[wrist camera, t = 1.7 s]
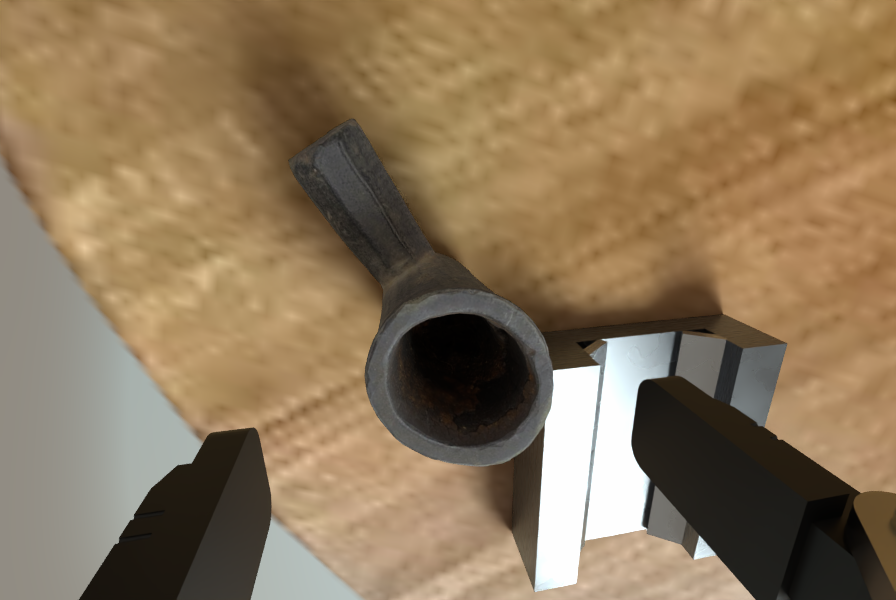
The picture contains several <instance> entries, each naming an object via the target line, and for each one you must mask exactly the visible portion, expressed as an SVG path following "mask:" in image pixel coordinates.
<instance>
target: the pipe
mask: <svg viewBox="0 0 896 600" xmlns="http://www.w3.org/2000/svg"><path fill="white" fill-rule="evenodd" d="M288 161H289V165H290V168H291V170H292V172H293V174H294V176H295V178H296V179H297V181H298V182H299V183H300V185H301V186H302V188H303V189H304V190H305V192H306V193H307V194H308V196H309V197H310V199H311V200H312V201H313V202H314V204H315V205H316V206H317V208H318V209H319V210H320V212H321V213H322V214H323V216H324V217H325V218H326V219H327V221H328V222H329V223H330V225H331V226H332V227H333V229H334V230H335V231H336V233H337V234H338V235H339V236H340V238H341V239H342V240H343V241H344V242H345V244H346V245H347V246H348V247H349V248H350V250H351V251H352V252H353V253H354V254H355V256H356V257H357V258H358V259H359V260H360V261H361V262H362V264H363V265H364V266H365V267H366V268H367V269H368V270H369V272H370V273H371V274H372V275H373V276H374V277H375V279H376V280H377V281H378V282H379V283H380V284H381V286H382V289H383V300H382V313H381V319H380V324H379V329H378V332H377V334H376V336H375V338H374V340H373V342H372V345H371V347H370V350H369V354H368V357H367V362H366V366H365V383H366V390H367V394H368V397H369V400H370V403H371V405H372V407H373V409H374V411H375V413H376V415H377V416H378V418H379V419H380V421H381V422H382V423H383V425H384V426H385V427H386V428H387V429H388V430H389V431H390V433H391V434H392V435H393V436H394V437H395V438H396V439H397V440H398V441H399V442H401V443H402V444H403V445H405V446H407V447H409V448H410V449H412V450H414V451H416V452H418V453H420V454H422V455H424V456H426V457H429V458H431V459H435V460H441V461H444V462H447V463H453V464H459V465H467V466H479V467H480V466H489V465H496V464H502V463H505V462H506V461H510V460H511V458H513V457H515V456H517V455H518V454H520V453H521V452H522V451H524V450H525V449H526V448H527V447H528V446H530V444H531V443H532V442H533V440H534V439H535V437H536V436H537V434H538V433H539V432H540V430H541V429H542V427H543V426H544V424H545V421H546V419H547V417H548V414H549V412H550V410H551V406H552V396H553V390H554V381H553V368H552V362H551V359H550V356H549V351H548V347H547V344H546V342H545V339H544V337H543V335H542V334H541V332H540V331H539V329H538V328H537V326H536V325H535V323H534V322H533V320H532V319H531V318H530V317H529V316H528V315H527V314H526V313H525V312H524V311H523V310H522V309H521V308H520V307H518V306H517V305H515V304H513V303H512V302H510V301H509V300H507V299H505V298H503V297H501V296H499V295H497V294H495V293H493V292H492V291H491V290H490V289H488V288H487V287H486V286H485V285H484V284H482V283H481V282H480V281H479V280H478V279H477V278H475V277H474V276H473V275H472V274H471V272H470V271H469V270H468V269H466V268H465V267H464V266H463V265H461V264H460V263H459V262H457V261H456V260H454V259H452V258H450V257H448V256H446V255H443V254H439V253H435V252H434V250H433V249H432V247H431V246H430V244H429V242H428V241H427V239H426V238H425V236H424V234H423V233H422V231H421V229H420V228H419V226H418V224H417V223H416V221H415V219H414V218H413V216H412V214H411V213H410V211H409V209H408V207H407V205H406V204H405V202H404V200H403V198H402V197H401V195H400V193H399V191H398V190H397V188H396V187H395V185H394V183H393V182H392V180H391V178H390V177H389V175H388V173H387V172H386V170H385V168H384V166H383V165H382V163H381V161H380V159H379V158H378V156H377V154H376V152H375V151H374V149H373V147H372V145H371V144H370V142H369V140H368V139H367V137H366V135H365V134H364V132H363V130H362V129H361V127H360V126H359V124H358V123H357V122H356V120H355V119H349V120H347V121H346V122H344V123H342V124H340V125H339V126H337V127H335V128H334V129H332V130H330V131H329V132H328V133H327V134H326V135H324V136H323V137H321V138H319V139H318V140H317V141H316V142H314V143H313V144H311V145H309V146H308V147H306V148H305V149H303V150H302V151H301V152H299V153H298V154H296V155H295V156H294V157H292V158H291V159H289V160H288Z"/></svg>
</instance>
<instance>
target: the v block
mask: <svg viewBox="0 0 896 600" xmlns="http://www.w3.org/2000/svg"><path fill="white" fill-rule="evenodd" d="M541 334H542V335H543V337H544V339H545V342H546V344H547V347H548V351H549V356H550V359H551V362H552V368H553V381H554V390H553V396H552V406H551V410H550V412H549V414H548V417H547V419H546V421H545V424H544V426H543V427H542V429H541V430H540V432H539V433H538V434H537V436H536V437H535V439H534V440H533V442H532V443H531V444H530V446H528V447H527V448H526V449H525V450H524V451H522V452H521V453H520V454H518V455H517V456H515V457H514V484H513V512H512V534H513V537H514V539H515V542H516V545H517V547H518V550H519V552H520V555H521V558H522V560H523V563H524V566H525V568H526V571H527V573H528V576H529V579H530V581H531V584H532V587H533V589H534V592H537V591H542V590H547V589H551V588H556V587H561V586H566V585H571V584H576V581H577V572H578V563H579V554H580V551H581V549H582V548H583V547H584V545H585V540H589V539H595V538H600V537H606V536H611V535H616V534H622V533H627V532H632V531H638V530H643V529H647V534H649V535H652V536H656V537H659V538H662V539H665V540H668V541H672V542H675V543H678V544H681V545H682V546H683V547H684V548H685V550H686V551H687V552H688V553H689V555H690V556H691V557H692V558H693V560H694V559H699V558H704V557H709V556H714V555H716V554H715V553H714V551H713V550H712V549H711V548H710V547H709V546H708V545H707V544H706V542H705V541H704V540H703V539H702V538H701V537H700V536H699V534H698V533H697V532H696V531H695V530H694V529H693V528H692V526H691V525H690V524H689V523H688V522H687V521H686V520H685V518H684V517H683V516H682V515H681V514H680V513H679V512H678V511H677V509H676V508H675V507H674V506H673V505H672V504H671V503H670V501H669V500H668V499H667V498H666V497H665V496H664V495H663V493H662V492H661V491H660V490H659V489H658V488H657V487H656V486H655V484H654V483H653V482H652V481H651V480H650V479H649V478H648V476H647V475H646V474H645V473H644V472H643V471H642V470H641V468H640V467H639V465H638V464H637V462H636V460H635V457H634V455H633V451H632V446H631V436H632V429H633V421H634V414H635V407H636V399H637V392H638V387H639V385H640V383H641V382H642V381H643V380H646V379H653V378H661V377H669V376H681V377H683V378H685V379H686V380H688V381H689V382H691V383H692V384H693V385H695V386H696V387H698V388H699V389H701V390H702V391H704V392H705V393H706V394H708V395H709V396H711V397H712V398H715V399H717V400H719V401H721V402H724V403H726V404H728V405H731V406H733V407H735V408H736V409H738V410H739V411H741V412H742V413H744V414H745V415H747V416H748V417H750V418H751V419H753V420H754V421H756V422H757V424H758V426H763V427H765V423H766V419H767V416H768V412H769V408H770V405H771V401H772V397H773V394H774V390H775V386H776V383H777V379H778V376H779V372H780V368H781V365H782V361H783V357H784V354H785V350H786V346H787V343H785V342H783V341H781V340H779V339H776V338H774V337H772V336H770V335H768V334H766V333H763V332H761V331H759V330H757V329H755V328H753V327H750V326H748V325H746V324H744V323H742V322H740V321H737V320H735V319H733V318H731V317H729V316H727V315H724V314H722V315H712V316H702V317H692V318H682V319H672V320H663V321H653V322H643V323H633V324H623V325H613V326H603V327H593V328H583V329H573V330H563V331H553V332H543V333H541Z"/></svg>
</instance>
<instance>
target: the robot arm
mask: <svg viewBox="0 0 896 600" xmlns="http://www.w3.org/2000/svg"><path fill="white" fill-rule="evenodd" d="M631 446H632V451H633V455H634V457H635V460H636V462H637V464H638V465H639V467H640V468H641V470H642V471H643V472H644V473H645V474H646V475H647V476H648V478H649V479H650V480H651V481H652V482H653V483H654V484H655V486H656V487H657V488H658V489H659V490H660V491H661V492H662V493H663V495H664V496H665V497H666V498H667V499H668V500H669V501H670V503H671V504H672V505H673V506H674V507H675V508H676V509H677V511H678V512H679V513H680V514H681V515H682V516H683V517H684V518H685V520H686V521H687V522H688V523H689V524H690V525H691V526H692V528H693V529H694V530H695V531H696V532H697V533H698V534H699V536H700V537H701V538H702V539H703V540H704V541H705V542H706V544H707V545H708V546H709V547H710V548H711V549H712V550H713V551H714V553H715V554H716V555H717V556H718V557H719V558H720V559H721V561H722V562H723V563H724V564H725V565H726V566H727V567H728V569H729V570H730V571H731V572H732V573H733V574H734V575H735V577H736V578H737V579H738V580H739V581H740V582H741V583H742V584H743V586H744V587H745V588H746V589H747V590H748V591H749V592H750V594H751V595H752V596H753V597H754V598H755V599H756V600H896V494H895V493H890V492H882V491H869V492H864V493H860V492H858V491H857V490H855V489H854V488H853V487H851V486H850V485H848V484H847V483H845V482H844V481H842V480H841V479H839V478H838V477H836V476H835V475H833V474H832V473H831V472H829V471H828V470H826V469H825V468H823V467H822V466H820V465H819V464H817V463H816V462H814V461H813V460H811V459H810V458H808V457H807V456H806V455H804V454H803V453H801V452H800V451H798V450H797V449H795V448H794V447H792V446H791V445H789V444H788V443H786V442H785V441H783V440H778V439H777V436H776V435H775V434H773V433H772V432H770V431H769V430H767V429H766V428H764V427H763V426H758V424H757V422H756V421H754V420H753V419H751V418H750V417H748V416H747V415H745V414H744V413H742V412H741V411H739V410H738V409H736V408H735V407H733V406H731V405H728V404H726V403H724V402H721V401H719V400H717V399H715V398H712V397H711V396H709V395H708V394H706V393H705V392H704V391H702V390H701V389H699V388H698V387H696V386H695V385H693V384H692V383H691V382H689V381H688V380H686V379H685V378H683V377H681V376H669V377H661V378H653V379H646V380H643V381H642V382H641V383H640V385H639V387H638V392H637V399H636V407H635V414H634V421H633V429H632V436H631ZM270 520H271V492H270V487H269V482H268V477H267V472H266V467H265V463H264V458H263V453H262V448H261V443H260V438H259V435H258V432H257V430H256V429H255V428H245V429H237V430H229V431H221V432H213V433H210V434H209V435H208V436H207V438H206V439H205V441H204V443H203V445H202V446H201V448H200V450H199V452H198V453H197V455H196V457H195V459H194V461H193V462H192V464H184V465H178V466H176V467H175V468H174V469H173V470H172V471H171V472H170V473H168V474H167V475H166V476H165V477H164V478H163V479H162V480H161V481H160V482H158V483H157V484H156V485H155V486H153V487H152V488H151V490H150V491H149V492H148V494H147V496H146V497H145V499H144V500H143V502H142V503H141V505H140V506H139V508H138V510H137V511H136V513H135V514H134V520H130V522H129V523H128V525H127V526H126V528H125V529H124V531H123V533H122V534H121V536H120V537H119V543H118V544H115V545H114V546H113V548H112V549H111V551H110V553H109V554H108V556H107V557H106V559H105V560H104V562H103V563H102V565H101V567H100V568H99V570H98V571H97V573H96V574H95V576H94V577H93V579H92V581H91V582H90V584H89V585H88V587H87V588H86V590H85V591H84V593H83V594H82V596H81V597H80V599H79V600H250V599H251V595H252V592H253V588H254V584H255V580H256V576H257V573H258V568H259V565H260V561H261V557H262V553H263V550H264V545H265V541H266V538H267V534H268V530H269V526H270Z"/></svg>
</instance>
